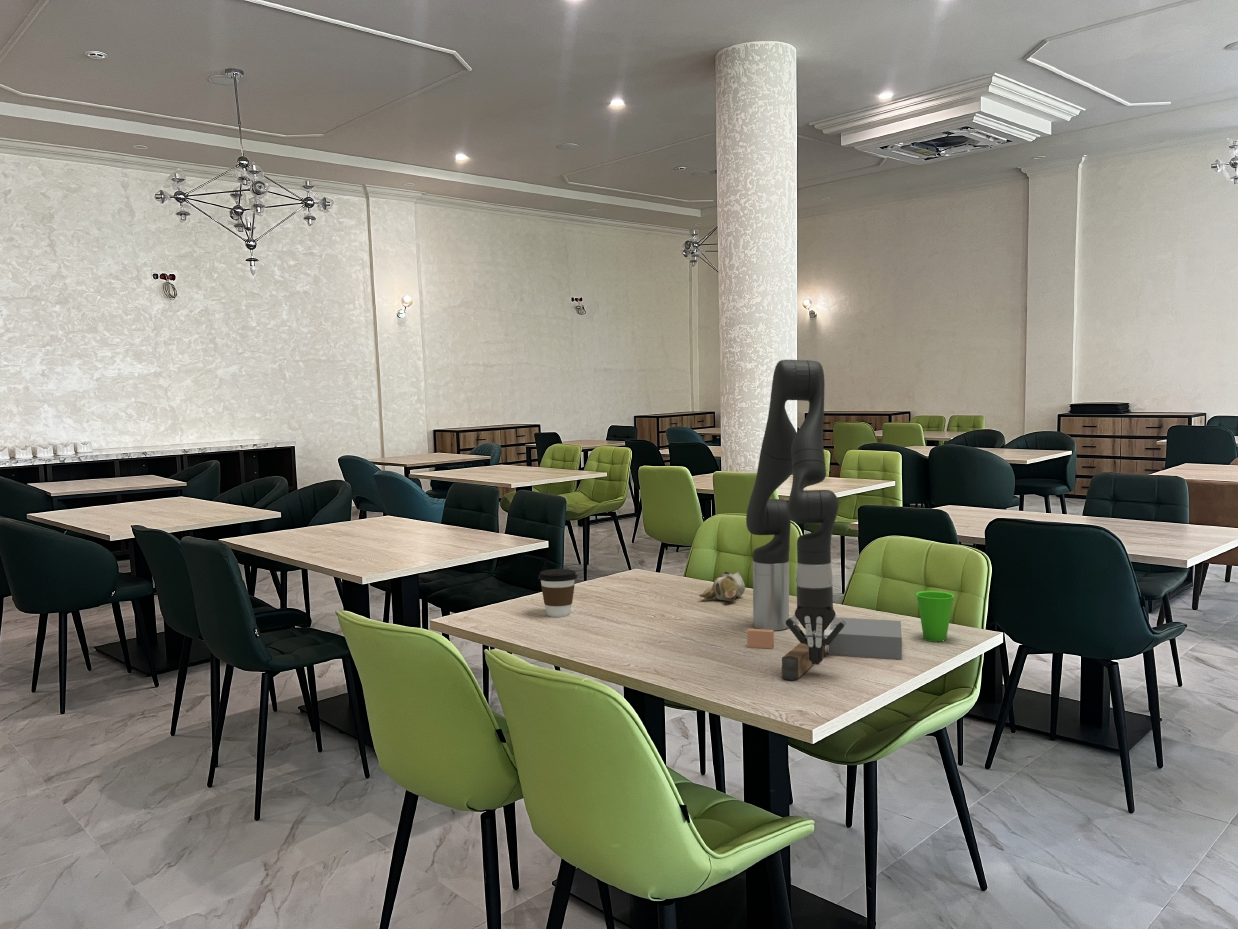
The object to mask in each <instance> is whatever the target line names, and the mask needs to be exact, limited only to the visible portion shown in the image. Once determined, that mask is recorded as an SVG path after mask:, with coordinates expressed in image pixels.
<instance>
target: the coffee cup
mask: <svg viewBox="0 0 1238 929" xmlns="http://www.w3.org/2000/svg"><path fill="white" fill-rule="evenodd" d="M577 578H578V574H576V571H575V570H573V569H569V568H553V569H552V568H551V569H544V570H541V571H540V572H539V574H538V578H537V579H538V580H540V583H541V585H540V587H541V591H542V599H543V604H544V606H545V611H546V614H547V616H548V617H552V618H563V617H568V616H570V614H571V611H572V604H573V600H574V592H575V579H577Z"/></svg>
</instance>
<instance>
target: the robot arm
mask: <svg viewBox="0 0 1238 929" xmlns="http://www.w3.org/2000/svg"><path fill="white" fill-rule="evenodd" d="M771 383H772V384H771V389H770V390H771V392H770V400H769V408H768V414H767V415H768V416H767V419H766V421H767V422H766V424H765V430H764V435H763V439H762V442H761V448H760V452H759V460H758V464H757V465H758V466H757V470H756V478H755V482H754V484H753V489H752V491H751V496H750V498H749V501H748V504H747V507H746V508H747V509H746V515H745V516H746V517H745V520H746V521H745V523H746V528H747V530H748V532H749V533H750V534H751V535H754V536H773V538H772V539H771V540H769V542H767V543H766V544H764V545H762V546H758V547H757V548H755V549H753V552H752V606H753V607H752V626H753V627H754V629H765V630H774V631H781V630H783V631H784V630H786V629H789V630H790V632H792V634H793V635H794V637H795V638H796V639H797V640H798V643H801V644H806V645H808V647H809V660H810V661H812V664H813V665H818V666H819V665H821V663H822V662H823V660H824V655H823V646H825V647H826V646H829V644H830V643H831V642H832V641H833V639H834V638H835V637H836V636H837V635H838V633H839V632H840V631H841V630H842V629H843V627H844V626H845V624H846V623H845V621H841V620H840V619H838V618H839V617H838V618H837V615H836V611H835V610H834V600H833V599H834V593H833V592H834V590H833V587H834V586H833V585H834V583H833V570H832V556H831V554H832V552H831V546H832V545H831V543H832V536H833V529H834V526H835V524H836V519H837V515H838V512H839V500H838V496H837V495H836V493H835V492H834V491H833V490H830V489H812V490H811V489H810V490H809V489H808V490H807V489H806V488H807V487H810V486H813V485H817V484H820V483H822V482H823V481H824V480H825V479H826V476H827V469H826V459H825V458H826V457H825V451H824V419H825V418H824V417H825V416H824V415H825V386H826V385H825V373H824V369H823V365H822V363H821V362H819V361H817V360H811V359H810V360H809V359H807V360H806V359H805V360H804V359H781V360H779V361H778V362H777V363H776V365H775V368H774V371H773V376H772V382H771ZM787 401H802V402H803V401H804V402H808V404H809V405H808V412H807V414H806V417H804V419H803V422H802V424H801V426H800V428H799V429H798V430H796V429H795V427H794V425H793V423H792V422H791V420H790V417H789V415H788V413H787V410H786V403H787ZM791 475H792V482H791V483H792V484H791V489H790V492H789V493H790V494H789V497H788V501H787V499H782V498H775V499H773V498H772V499H771V496H772V494H774V492H776V490H777V489H778V488H780V487H781V485H783V484H784V483H785V481H787V480H788V479H789V478H790V477H791ZM791 522H793V523H795V524H820V526H819V527H818V529H817V530H815V531H813V532H809V533H805V534H802V535H800V536H798V537H797V539H796V558H797V559H796V571H795V572H796V573H795V574H796V576H795V577H796V578H795V583H796V609H795V611H794V615H792V616H791V617H790V550H791V549H790V548H791V546H790V544H791V543H790V542H791V540H790V539H791ZM832 621H833V628H834V630H833V631H832V632H831V633H830V635H829V636H828V637H827V638H825V639H824V631H825V630H828V627H830V626H831V622H832ZM799 623H800V624H801V627H803V628H804V629H805V633H804V631H803V630H802V629H801V627H800V626H799ZM815 631H816V641H815ZM805 634H806V635H807V636H806V635H805ZM815 643H816V644H815Z"/></svg>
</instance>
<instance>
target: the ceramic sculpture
mask: <svg viewBox="0 0 1238 929" xmlns="http://www.w3.org/2000/svg"><path fill="white" fill-rule="evenodd" d="M745 589H746V585H745V581H744V579H743V577H742V576H741V574H740V572H738V571H737V572H735V573H733V574H732V572H727V571H724V573H723V574H722V575H721V576H719V577H717V578H716V579H714V581H713V584H712V586H711V587H708V588H706V589H705V590H704V591H703V593H702V594H699V597H700V598H704V599H706V600H709V599H713V598H716V599H717V600H719V601H722V600H724V602H733V601H734V600H735V599H736V598H741V597H742V596H743V595H744V593H745Z"/></svg>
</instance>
